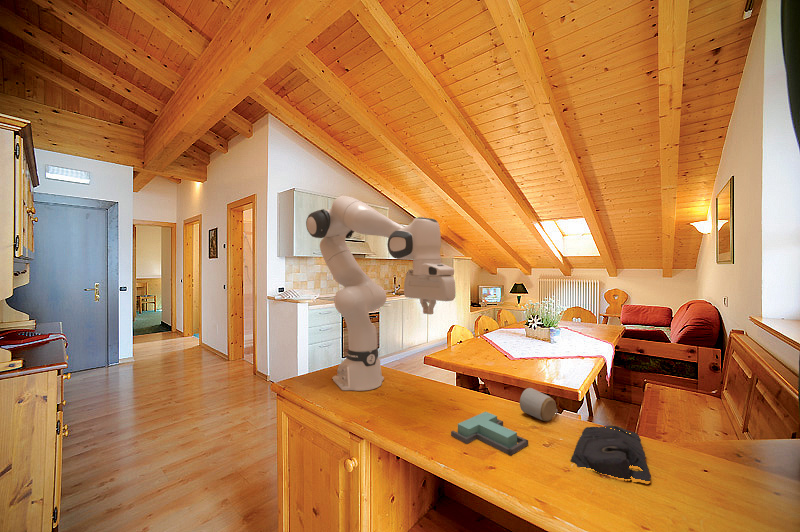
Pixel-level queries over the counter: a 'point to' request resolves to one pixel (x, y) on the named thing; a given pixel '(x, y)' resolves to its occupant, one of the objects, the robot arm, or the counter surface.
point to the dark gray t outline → (492, 443)
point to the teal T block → (488, 429)
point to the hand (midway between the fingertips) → (428, 313)
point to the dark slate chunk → (611, 452)
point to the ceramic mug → (538, 404)
